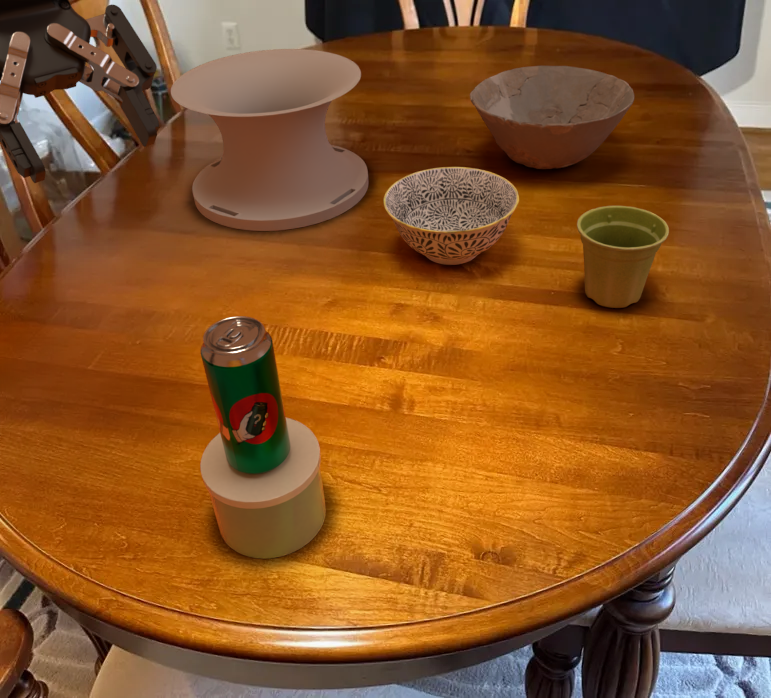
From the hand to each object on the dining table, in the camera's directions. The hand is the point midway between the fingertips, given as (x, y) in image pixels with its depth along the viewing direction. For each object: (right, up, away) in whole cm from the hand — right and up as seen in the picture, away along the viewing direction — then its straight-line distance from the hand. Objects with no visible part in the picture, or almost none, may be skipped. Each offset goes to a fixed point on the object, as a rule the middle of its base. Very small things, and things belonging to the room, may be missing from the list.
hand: (98, 158), depth 58 cm
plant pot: (+46, -8, +33) cm, 57 cm away
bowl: (+29, -2, +41) cm, 51 cm away
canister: (+11, -28, +9) cm, 31 cm away
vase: (+6, +9, +58) cm, 59 cm away
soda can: (+11, -22, +5) cm, 25 cm away
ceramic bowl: (+45, +14, +61) cm, 77 cm away
